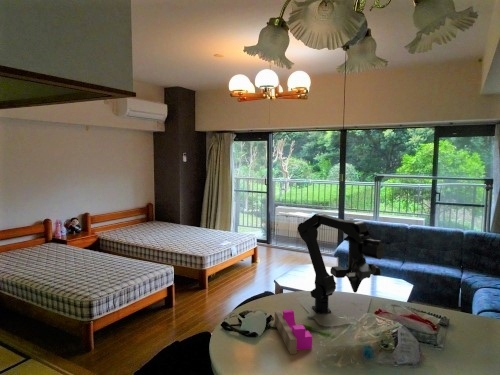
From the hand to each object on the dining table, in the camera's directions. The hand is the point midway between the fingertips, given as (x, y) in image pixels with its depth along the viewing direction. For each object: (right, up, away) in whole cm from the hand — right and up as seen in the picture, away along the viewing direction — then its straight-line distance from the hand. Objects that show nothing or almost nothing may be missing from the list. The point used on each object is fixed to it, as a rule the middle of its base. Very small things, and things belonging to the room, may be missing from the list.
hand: (354, 292), depth 133 cm
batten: (-29, -14, -9) cm, 33 cm away
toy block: (-24, -14, -10) cm, 30 cm away
